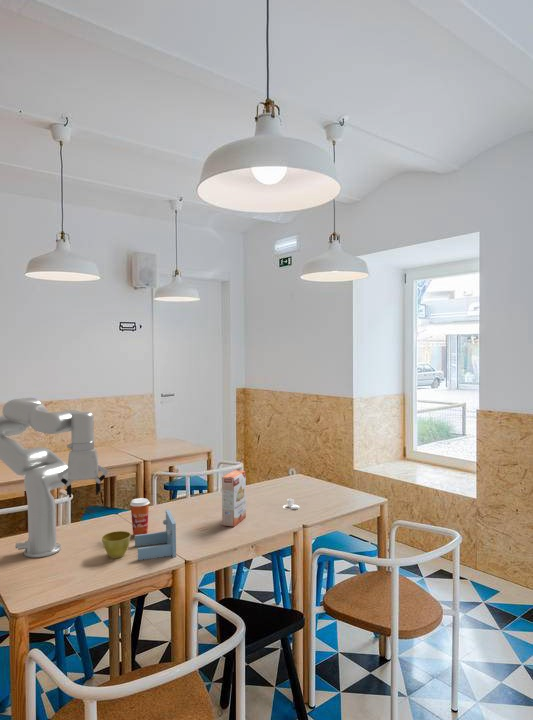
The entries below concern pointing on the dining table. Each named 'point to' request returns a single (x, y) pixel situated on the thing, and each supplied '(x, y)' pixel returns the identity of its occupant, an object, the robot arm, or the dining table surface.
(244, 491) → the cracker box
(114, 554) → the flower pot
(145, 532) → the paper cup
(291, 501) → the white lobed knob
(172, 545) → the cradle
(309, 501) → the dining table surface
